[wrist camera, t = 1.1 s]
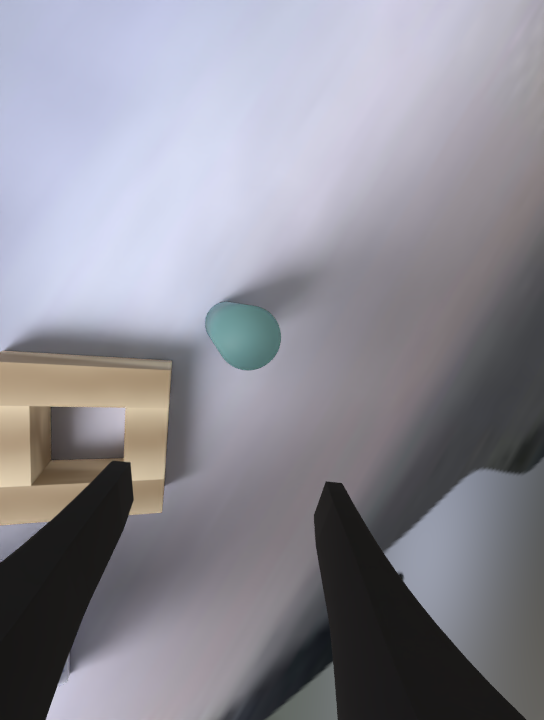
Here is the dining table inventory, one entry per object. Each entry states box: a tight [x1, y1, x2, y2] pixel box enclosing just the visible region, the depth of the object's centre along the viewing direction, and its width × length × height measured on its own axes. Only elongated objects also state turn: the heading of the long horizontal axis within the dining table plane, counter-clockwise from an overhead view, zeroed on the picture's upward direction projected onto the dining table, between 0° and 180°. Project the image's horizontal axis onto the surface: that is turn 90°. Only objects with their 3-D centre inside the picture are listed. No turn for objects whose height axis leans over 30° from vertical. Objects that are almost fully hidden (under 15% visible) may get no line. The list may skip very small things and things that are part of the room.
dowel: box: [205, 302, 281, 370], centre depth 19 cm, size 3×3×8 cm
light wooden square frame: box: [0, 351, 172, 525], centre depth 20 cm, size 10×10×3 cm
